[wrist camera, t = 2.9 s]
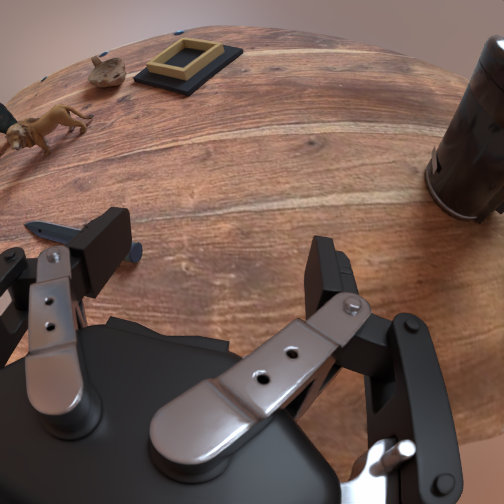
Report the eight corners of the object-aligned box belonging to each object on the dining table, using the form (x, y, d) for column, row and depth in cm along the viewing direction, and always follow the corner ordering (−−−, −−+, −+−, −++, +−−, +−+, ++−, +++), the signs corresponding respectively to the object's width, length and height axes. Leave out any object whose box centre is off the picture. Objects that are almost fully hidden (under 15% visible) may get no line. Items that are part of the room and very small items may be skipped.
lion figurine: (30, 174, 40) (0, 143, 32) (30, 156, 42) (3, 127, 34) (97, 124, 42) (72, 86, 33) (93, 110, 44) (70, 74, 35)
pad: (243, 53, 44) (241, 39, 42) (188, 96, 41) (183, 81, 38) (186, 42, 48) (183, 31, 46) (134, 81, 45) (129, 69, 42)
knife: (140, 231, 30) (120, 274, 28) (148, 242, 32) (130, 283, 30) (26, 210, 36) (10, 238, 34) (33, 217, 38) (18, 245, 36)
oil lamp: (139, 79, 45) (129, 58, 41) (104, 102, 44) (92, 82, 39) (116, 62, 50) (108, 44, 45) (87, 81, 49) (77, 65, 44)
